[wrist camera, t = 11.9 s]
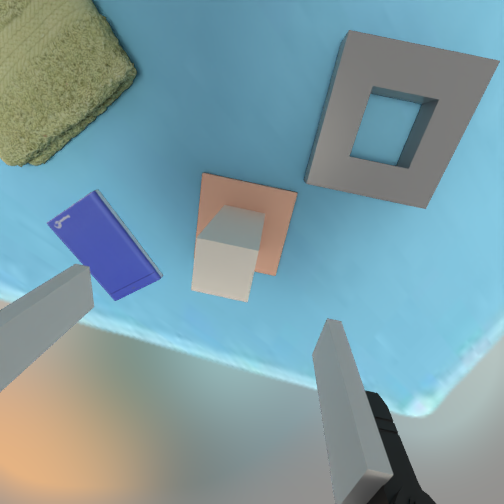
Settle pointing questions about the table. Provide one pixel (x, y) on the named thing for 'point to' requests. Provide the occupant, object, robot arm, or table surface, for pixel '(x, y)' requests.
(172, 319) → the table surface
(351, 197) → the table surface
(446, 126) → the gray square ring
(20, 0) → the washcloth
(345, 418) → the robot arm
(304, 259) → the table surface
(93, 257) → the hard drive
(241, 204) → the pad
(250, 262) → the plug
